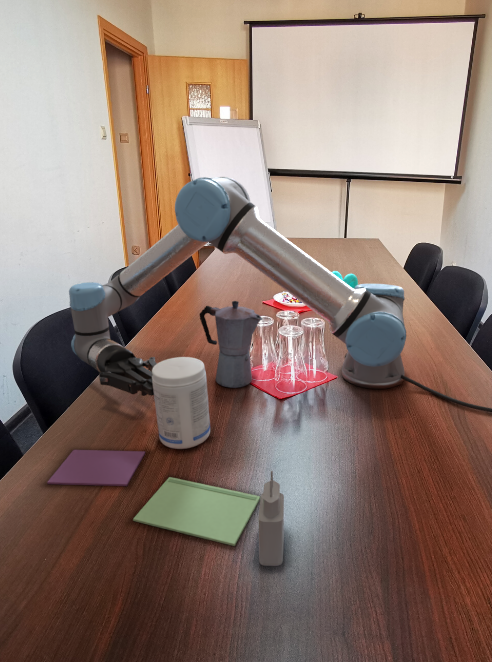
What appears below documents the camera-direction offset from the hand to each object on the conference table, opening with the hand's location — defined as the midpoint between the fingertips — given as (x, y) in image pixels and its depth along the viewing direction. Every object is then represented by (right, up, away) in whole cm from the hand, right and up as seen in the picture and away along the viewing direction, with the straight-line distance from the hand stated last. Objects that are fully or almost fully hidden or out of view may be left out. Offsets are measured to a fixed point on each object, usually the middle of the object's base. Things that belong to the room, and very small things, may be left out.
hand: (168, 395), depth 88 cm
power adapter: (+21, -17, -26) cm, 38 cm away
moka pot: (+9, 0, +22) cm, 24 cm away
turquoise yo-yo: (+43, +25, +92) cm, 105 cm away
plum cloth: (-9, -11, -10) cm, 17 cm away
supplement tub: (+3, -8, -1) cm, 9 cm away
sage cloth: (+10, -14, -19) cm, 26 cm away
